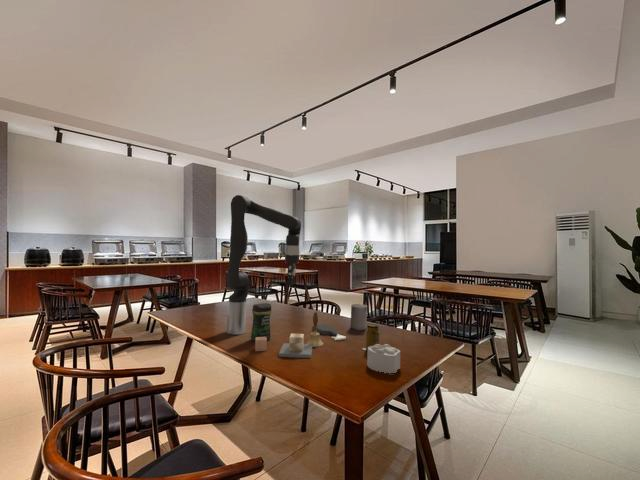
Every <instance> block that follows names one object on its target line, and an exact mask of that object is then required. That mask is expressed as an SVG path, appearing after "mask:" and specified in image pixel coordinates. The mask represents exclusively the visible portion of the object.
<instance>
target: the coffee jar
mask: <svg viewBox="0 0 640 480" xmlns="http://www.w3.org/2000/svg"><path fill="white" fill-rule="evenodd" d="M251 311H252V327H251V335H250V339H251V341H253V342H255V339H256V337H266V338H267V341H269V340H271V336H272V335H271V314H272V304H270V303H267V302H263V303H257V304H253V305H252V309H251Z"/></svg>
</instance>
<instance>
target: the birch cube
mask: <svg viewBox="0 0 640 480" xmlns="http://www.w3.org/2000/svg"><path fill="white" fill-rule="evenodd" d="M304 336H305V334H304V333H290V336H289V351H303V347H304V344H305V343H304V341H305V337H304Z"/></svg>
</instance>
